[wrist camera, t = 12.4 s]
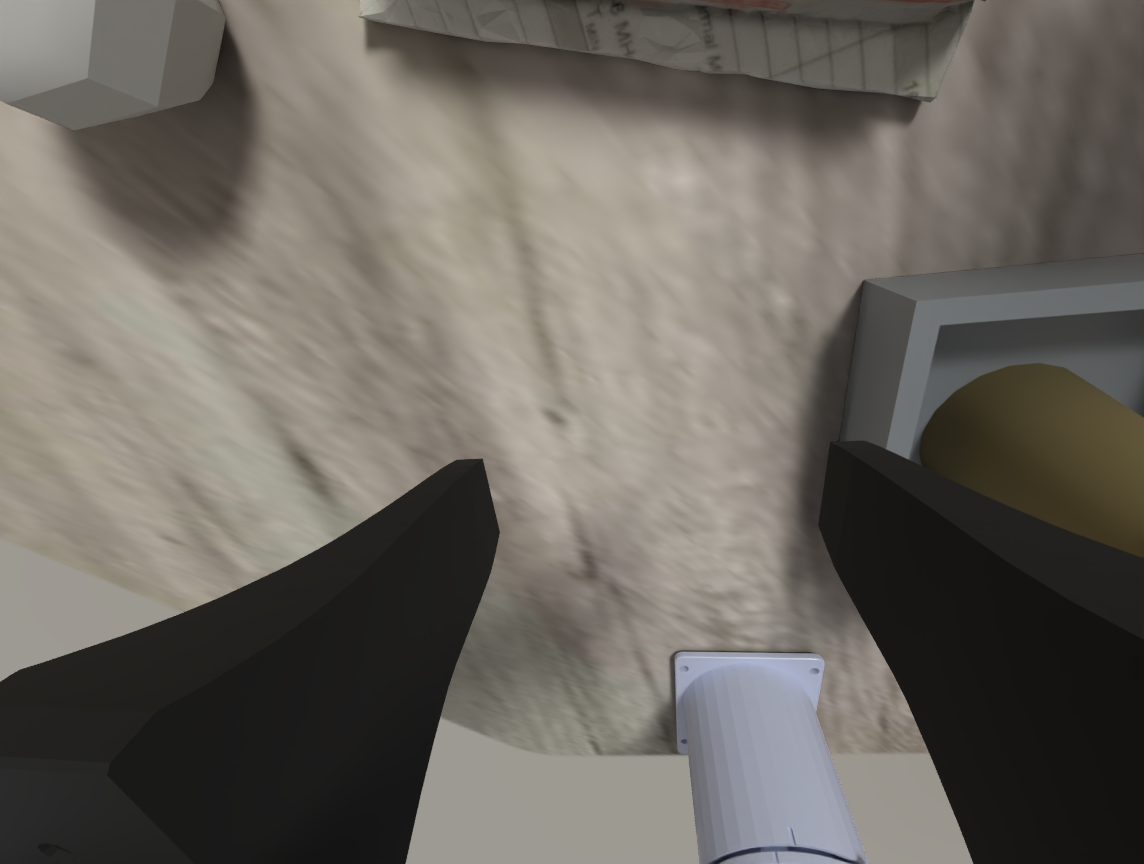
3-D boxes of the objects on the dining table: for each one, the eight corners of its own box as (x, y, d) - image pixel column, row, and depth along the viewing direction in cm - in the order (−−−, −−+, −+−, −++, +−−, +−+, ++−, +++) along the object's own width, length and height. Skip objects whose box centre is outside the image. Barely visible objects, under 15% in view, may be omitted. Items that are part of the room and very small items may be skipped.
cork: (887, 471, 20) (1130, 740, 10) (991, 340, 17) (1461, 539, 7) (1014, 516, 20) (1367, 818, 11) (1138, 394, 17) (1772, 655, 8)
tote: (1107, 525, 21) (1193, 587, 18) (824, 531, 22) (857, 588, 19) (1245, 243, 16) (1403, 258, 12) (863, 280, 17) (916, 301, 14)
